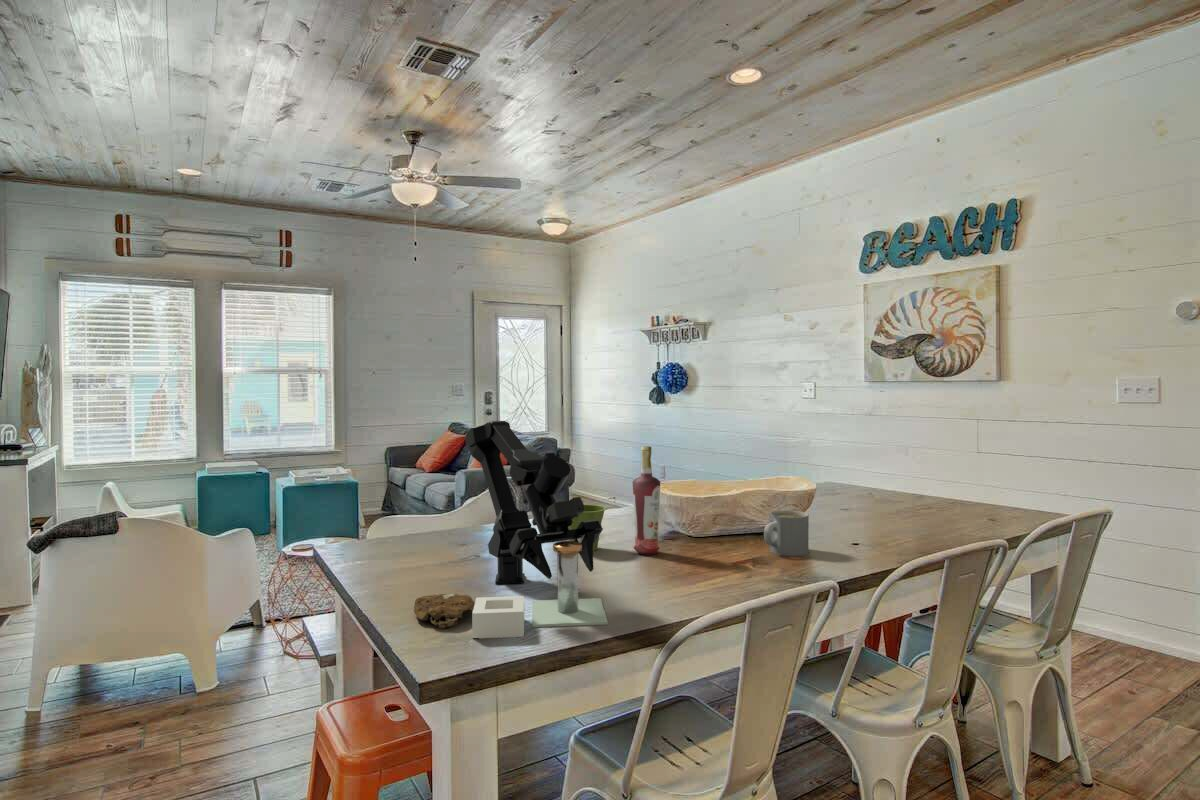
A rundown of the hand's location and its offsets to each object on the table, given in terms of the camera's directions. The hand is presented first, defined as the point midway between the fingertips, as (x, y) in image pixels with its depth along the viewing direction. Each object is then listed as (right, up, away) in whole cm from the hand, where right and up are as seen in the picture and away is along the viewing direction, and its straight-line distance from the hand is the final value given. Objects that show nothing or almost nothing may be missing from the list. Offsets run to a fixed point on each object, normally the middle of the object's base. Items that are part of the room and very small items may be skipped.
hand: (571, 574), depth 134 cm
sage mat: (-1, -8, +1) cm, 8 cm away
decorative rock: (-24, -9, 0) cm, 26 cm away
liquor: (+18, -7, +48) cm, 52 cm away
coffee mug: (+54, -7, +49) cm, 73 cm away
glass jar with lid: (-1, -7, +2) cm, 8 cm away
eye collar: (-13, -8, -7) cm, 17 cm away
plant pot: (+1, -7, +53) cm, 53 cm away
